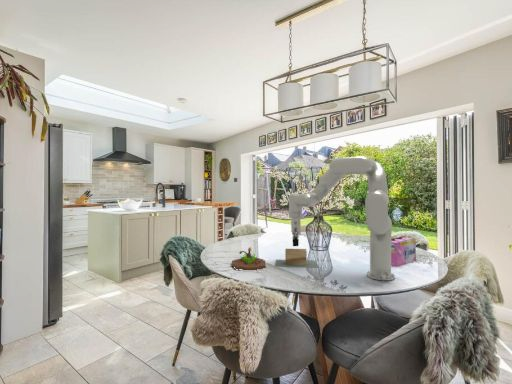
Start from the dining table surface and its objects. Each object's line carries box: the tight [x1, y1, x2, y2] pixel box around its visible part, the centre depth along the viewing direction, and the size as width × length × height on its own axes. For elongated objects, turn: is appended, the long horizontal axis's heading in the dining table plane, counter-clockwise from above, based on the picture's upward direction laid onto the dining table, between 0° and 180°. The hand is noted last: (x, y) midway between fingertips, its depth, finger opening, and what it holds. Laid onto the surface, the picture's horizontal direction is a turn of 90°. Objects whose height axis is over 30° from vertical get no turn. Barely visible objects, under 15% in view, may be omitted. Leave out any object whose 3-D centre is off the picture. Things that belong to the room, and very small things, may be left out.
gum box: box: [391, 235, 417, 268], centre depth 161 cm, size 24×8×14 cm, turn 125°
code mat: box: [274, 259, 319, 269], centre depth 159 cm, size 15×24×1 cm, turn 83°
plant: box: [230, 247, 267, 271], centre depth 156 cm, size 20×20×11 cm
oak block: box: [284, 248, 308, 265], centre depth 159 cm, size 5×12×8 cm, turn 83°
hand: (295, 244), depth 159 cm, fingers open, 9 cm apart
